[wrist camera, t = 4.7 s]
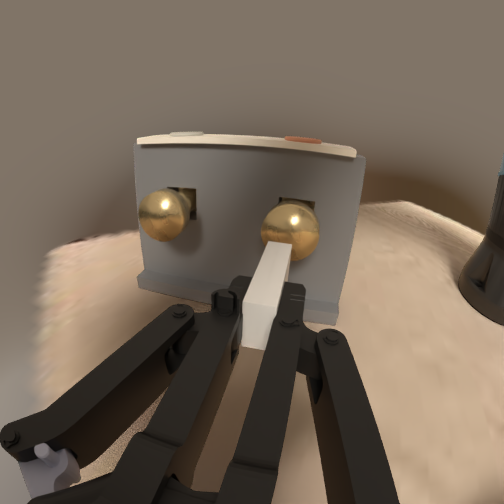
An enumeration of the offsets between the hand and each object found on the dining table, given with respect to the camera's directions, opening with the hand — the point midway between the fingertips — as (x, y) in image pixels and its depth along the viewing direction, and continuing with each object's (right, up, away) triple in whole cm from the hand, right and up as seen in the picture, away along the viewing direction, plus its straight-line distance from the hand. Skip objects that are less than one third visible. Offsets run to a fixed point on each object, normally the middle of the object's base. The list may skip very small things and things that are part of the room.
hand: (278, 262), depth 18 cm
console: (-3, -4, +13) cm, 14 cm away
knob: (-9, +3, +10) cm, 14 cm away
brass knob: (+2, +2, +8) cm, 8 cm away
